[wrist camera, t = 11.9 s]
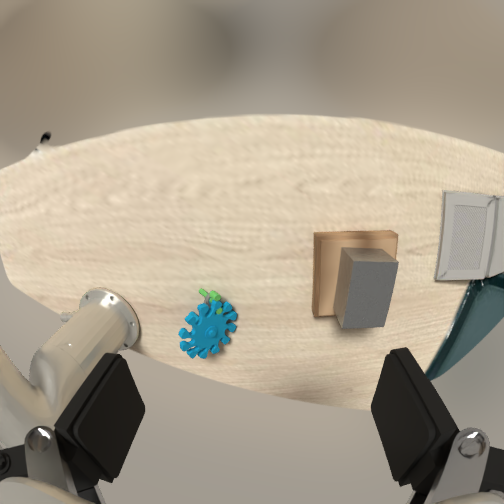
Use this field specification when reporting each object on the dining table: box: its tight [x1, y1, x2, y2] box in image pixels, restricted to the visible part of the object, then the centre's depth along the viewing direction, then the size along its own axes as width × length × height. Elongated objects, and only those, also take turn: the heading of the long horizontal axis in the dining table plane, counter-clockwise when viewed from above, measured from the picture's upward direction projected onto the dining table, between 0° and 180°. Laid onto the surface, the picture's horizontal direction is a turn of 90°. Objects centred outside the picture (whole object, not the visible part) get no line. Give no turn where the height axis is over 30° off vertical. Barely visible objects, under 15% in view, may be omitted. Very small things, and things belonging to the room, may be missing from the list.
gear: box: [178, 289, 237, 359], centre depth 40 cm, size 11×6×10 cm
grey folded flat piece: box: [434, 190, 504, 280], centre depth 35 cm, size 23×15×4 cm, turn 94°
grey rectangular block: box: [333, 247, 399, 329], centre depth 34 cm, size 9×6×6 cm, turn 179°
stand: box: [312, 230, 398, 317], centre depth 38 cm, size 12×12×3 cm
